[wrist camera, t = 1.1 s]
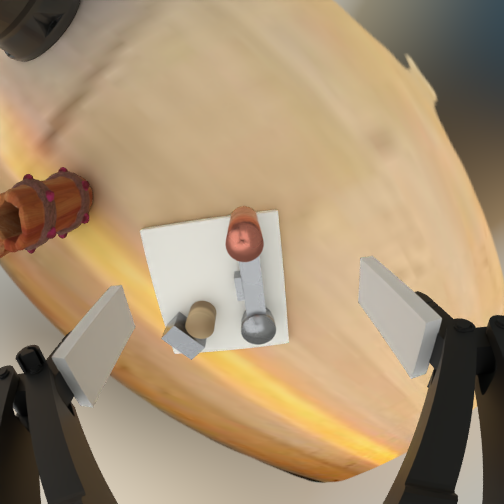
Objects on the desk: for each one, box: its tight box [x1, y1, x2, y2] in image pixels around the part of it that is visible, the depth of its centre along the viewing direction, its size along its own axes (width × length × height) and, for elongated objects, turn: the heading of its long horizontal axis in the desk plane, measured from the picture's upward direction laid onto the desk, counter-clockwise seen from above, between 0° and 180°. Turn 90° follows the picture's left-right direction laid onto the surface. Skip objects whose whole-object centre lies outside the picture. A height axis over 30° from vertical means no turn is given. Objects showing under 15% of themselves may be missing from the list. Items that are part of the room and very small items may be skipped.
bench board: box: [140, 209, 289, 354], centre depth 36 cm, size 19×17×2 cm
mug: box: [0, 167, 93, 258], centre depth 26 cm, size 15×8×15 cm, turn 115°
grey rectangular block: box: [161, 312, 207, 360], centre depth 36 cm, size 5×3×4 cm, turn 47°
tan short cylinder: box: [185, 301, 216, 339], centre depth 35 cm, size 4×4×4 cm
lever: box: [225, 206, 276, 345], centre depth 30 cm, size 18×4×10 cm, turn 7°
